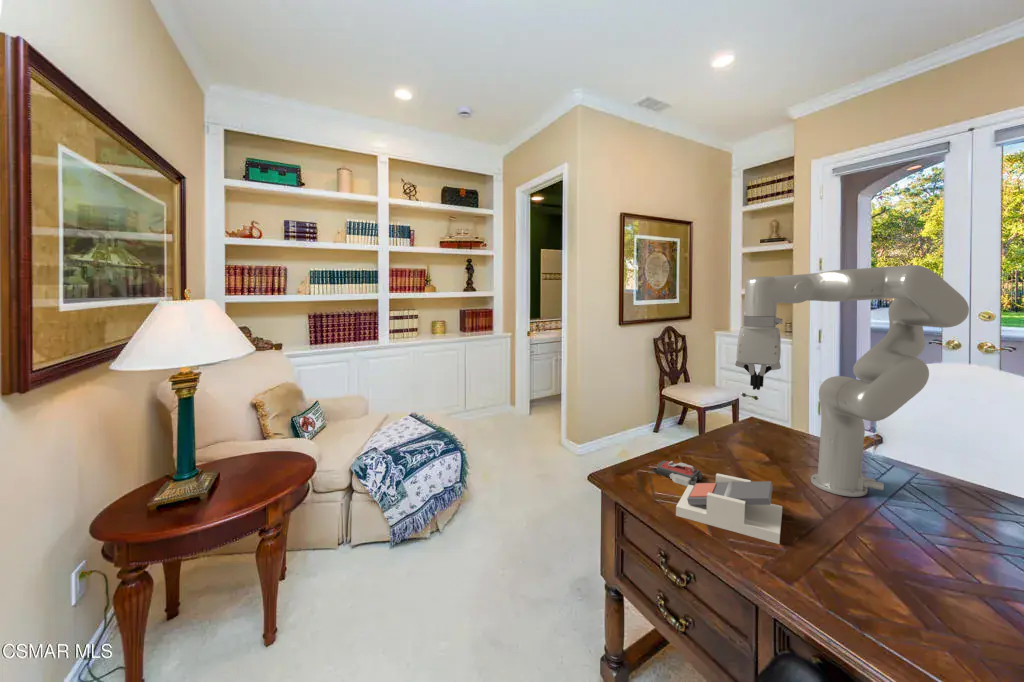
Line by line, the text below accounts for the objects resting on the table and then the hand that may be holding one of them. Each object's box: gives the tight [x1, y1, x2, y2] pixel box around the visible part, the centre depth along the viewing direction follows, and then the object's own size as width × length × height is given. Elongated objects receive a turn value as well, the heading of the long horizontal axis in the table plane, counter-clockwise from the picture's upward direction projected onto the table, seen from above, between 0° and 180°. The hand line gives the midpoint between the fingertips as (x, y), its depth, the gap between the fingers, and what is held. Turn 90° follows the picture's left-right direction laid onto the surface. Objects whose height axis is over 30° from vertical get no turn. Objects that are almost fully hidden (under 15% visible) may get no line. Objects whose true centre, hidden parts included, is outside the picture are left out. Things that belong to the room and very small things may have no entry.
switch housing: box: [675, 473, 783, 545], centre depth 103 cm, size 22×14×8 cm, turn 55°
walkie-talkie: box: [652, 460, 703, 488], centre depth 123 cm, size 9×4×20 cm
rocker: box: [687, 480, 774, 505], centre depth 103 cm, size 18×10×2 cm, turn 53°
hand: (756, 388), depth 113 cm, fingers closed
